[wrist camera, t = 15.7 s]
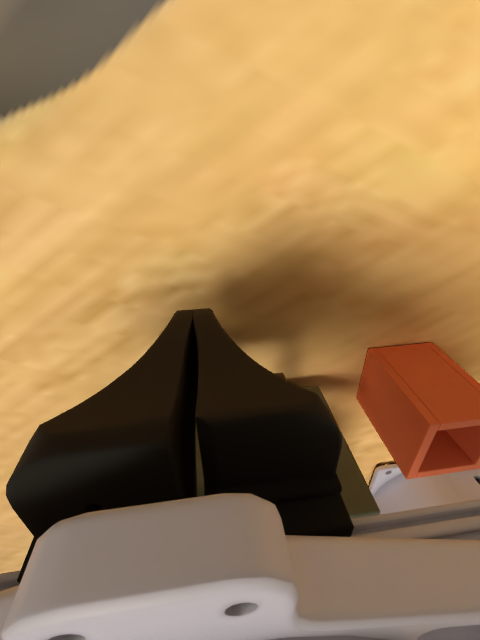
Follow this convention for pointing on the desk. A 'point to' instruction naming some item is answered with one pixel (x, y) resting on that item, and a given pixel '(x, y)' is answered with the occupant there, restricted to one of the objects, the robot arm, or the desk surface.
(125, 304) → the desk surface
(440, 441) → the scoop
